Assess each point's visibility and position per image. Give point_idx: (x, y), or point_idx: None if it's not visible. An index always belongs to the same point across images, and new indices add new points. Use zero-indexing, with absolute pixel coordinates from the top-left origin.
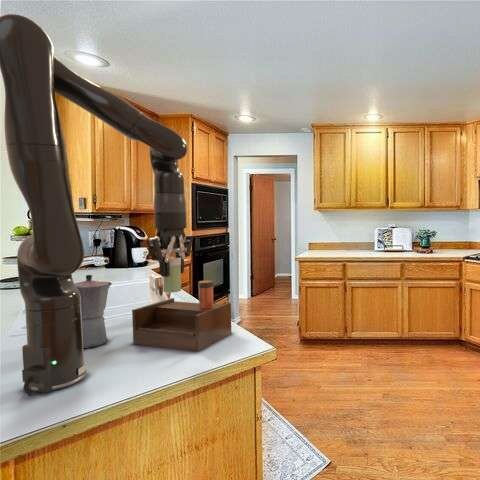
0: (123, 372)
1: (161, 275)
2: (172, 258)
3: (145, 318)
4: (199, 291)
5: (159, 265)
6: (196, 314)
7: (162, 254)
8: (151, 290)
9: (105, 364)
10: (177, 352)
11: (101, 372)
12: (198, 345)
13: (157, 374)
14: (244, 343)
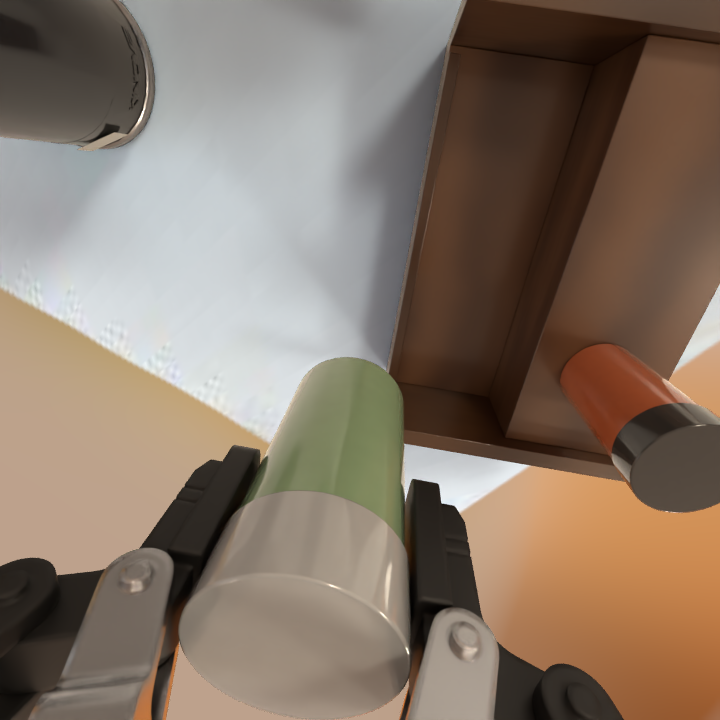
0: (203, 235)
1: (233, 451)
2: (226, 685)
3: (532, 37)
4: (618, 405)
5: (154, 529)
6: (528, 347)
7: (129, 679)
8: None
9: (235, 114)
10: (372, 305)
11: (183, 159)
12: None
13: (219, 341)
14: (464, 466)
